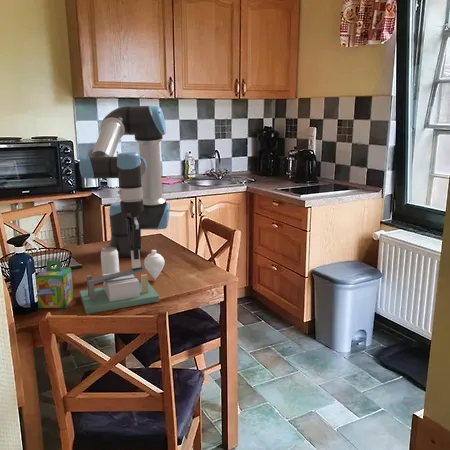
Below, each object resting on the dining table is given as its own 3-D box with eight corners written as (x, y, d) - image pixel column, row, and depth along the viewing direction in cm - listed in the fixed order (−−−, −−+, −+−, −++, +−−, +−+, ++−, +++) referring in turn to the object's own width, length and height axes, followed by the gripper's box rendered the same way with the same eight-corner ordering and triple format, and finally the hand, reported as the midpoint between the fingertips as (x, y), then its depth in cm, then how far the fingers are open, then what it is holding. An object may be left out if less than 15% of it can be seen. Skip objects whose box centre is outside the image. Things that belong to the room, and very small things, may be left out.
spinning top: (166, 282, 176) (165, 252, 173) (146, 285, 174) (144, 254, 171) (163, 275, 183) (162, 246, 180) (143, 278, 181) (142, 248, 178)
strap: (88, 282, 158) (87, 278, 157) (142, 268, 164) (141, 264, 164) (89, 285, 155) (88, 281, 154) (144, 271, 161) (143, 267, 161)
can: (123, 276, 183) (120, 247, 180) (113, 282, 177) (111, 252, 174) (108, 275, 185) (106, 245, 182) (99, 280, 179) (96, 250, 176)
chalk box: (38, 309, 154) (33, 266, 150) (47, 298, 163) (43, 257, 159) (66, 308, 154) (62, 266, 150) (74, 297, 163) (70, 257, 159)
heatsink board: (80, 296, 164) (78, 271, 162) (147, 285, 173) (146, 262, 171) (86, 314, 150) (83, 287, 148) (159, 301, 159) (157, 276, 157)
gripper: (116, 197, 160) (121, 263, 166) (124, 204, 148) (129, 274, 154) (138, 195, 163) (142, 260, 168) (147, 201, 151) (151, 271, 157)
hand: (136, 267), depth 161 cm, fingers closed
